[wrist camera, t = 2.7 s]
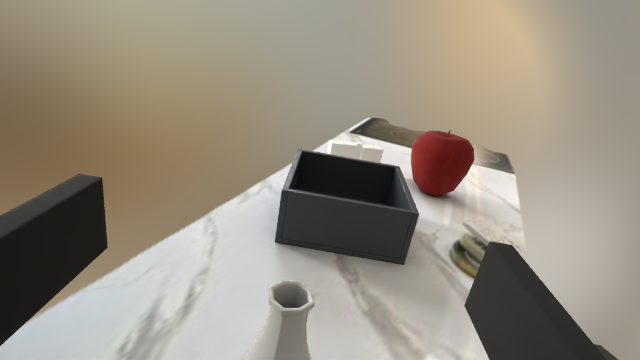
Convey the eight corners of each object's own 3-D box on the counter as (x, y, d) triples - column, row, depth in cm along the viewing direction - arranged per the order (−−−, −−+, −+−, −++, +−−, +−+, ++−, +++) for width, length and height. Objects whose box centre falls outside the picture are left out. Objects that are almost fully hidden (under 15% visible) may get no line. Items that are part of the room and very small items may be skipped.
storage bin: (274, 242, 48) (281, 190, 45) (292, 189, 64) (298, 148, 61) (403, 264, 48) (419, 213, 45) (388, 206, 65) (399, 166, 62)
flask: (218, 369, 30) (225, 271, 26) (297, 345, 33) (314, 256, 29) (244, 459, 24) (258, 350, 20) (336, 419, 28) (363, 319, 24)
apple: (464, 192, 77) (485, 133, 72) (454, 210, 68) (477, 143, 63) (410, 174, 82) (426, 118, 77) (394, 189, 73) (411, 125, 67)
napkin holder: (312, 165, 78) (316, 139, 76) (333, 153, 87) (337, 130, 85) (378, 186, 73) (384, 159, 70) (392, 171, 82) (398, 147, 80)
